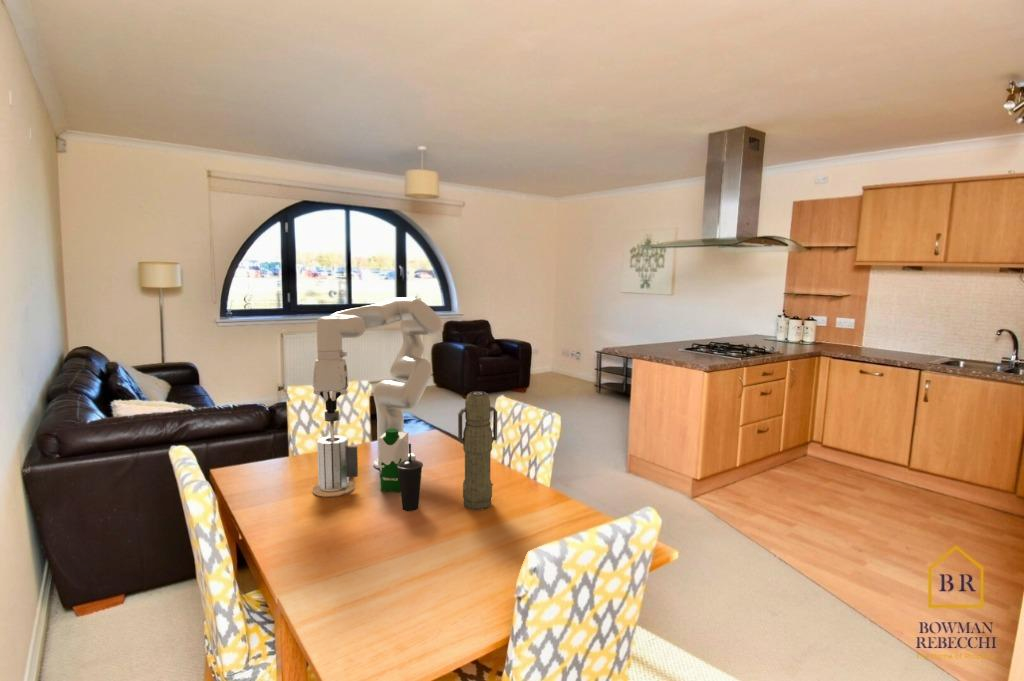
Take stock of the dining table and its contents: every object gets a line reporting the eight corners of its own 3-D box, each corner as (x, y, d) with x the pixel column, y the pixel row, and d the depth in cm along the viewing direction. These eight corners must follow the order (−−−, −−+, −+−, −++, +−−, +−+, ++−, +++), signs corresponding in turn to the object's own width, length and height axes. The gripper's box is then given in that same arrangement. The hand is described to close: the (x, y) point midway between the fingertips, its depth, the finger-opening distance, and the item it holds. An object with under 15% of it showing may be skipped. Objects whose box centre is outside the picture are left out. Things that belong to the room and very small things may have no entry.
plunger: (342, 465, 175) (340, 410, 173) (338, 470, 171) (336, 413, 169) (328, 465, 175) (327, 410, 173) (324, 470, 171) (322, 413, 169)
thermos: (454, 501, 165) (454, 391, 161) (490, 496, 170) (490, 388, 166) (463, 513, 157) (463, 397, 153) (500, 507, 162) (501, 394, 158)
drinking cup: (417, 514, 156) (417, 448, 154) (393, 512, 158) (392, 446, 155) (427, 504, 163) (426, 441, 161) (403, 501, 165) (402, 439, 163)
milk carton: (377, 492, 172) (376, 432, 170) (386, 481, 181) (385, 424, 179) (403, 493, 171) (402, 433, 169) (411, 482, 180) (411, 425, 178)
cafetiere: (362, 481, 181) (361, 433, 179) (351, 497, 168) (350, 445, 166) (321, 481, 180) (319, 433, 178) (306, 497, 167) (304, 445, 166)
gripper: (356, 354, 173) (357, 409, 175) (310, 353, 172) (312, 409, 174) (350, 357, 165) (351, 415, 167) (301, 357, 165) (303, 414, 167)
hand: (331, 411), depth 171 cm, fingers closed
